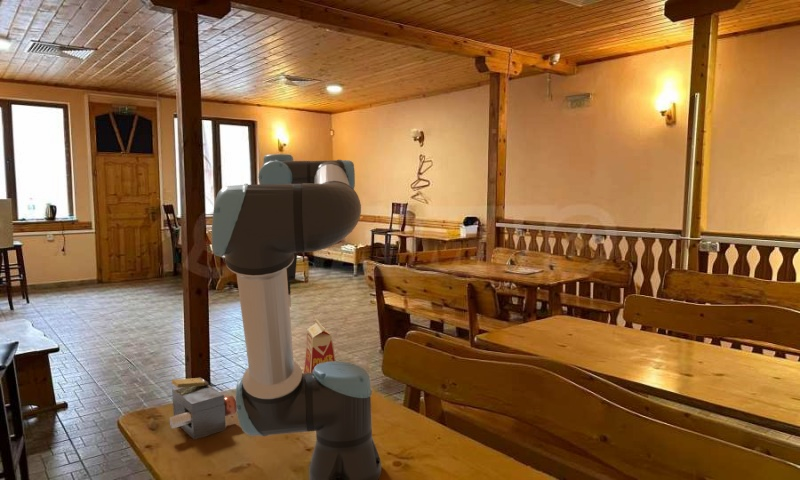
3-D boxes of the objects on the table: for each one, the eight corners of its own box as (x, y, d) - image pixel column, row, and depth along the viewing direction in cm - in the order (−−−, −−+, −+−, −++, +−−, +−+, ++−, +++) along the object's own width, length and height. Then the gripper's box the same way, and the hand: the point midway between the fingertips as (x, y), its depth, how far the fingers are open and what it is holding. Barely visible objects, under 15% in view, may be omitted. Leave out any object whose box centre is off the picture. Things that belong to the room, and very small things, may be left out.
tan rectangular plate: (208, 386, 144) (209, 382, 144) (178, 388, 138) (178, 384, 138) (201, 380, 147) (201, 377, 147) (171, 382, 142) (171, 379, 142)
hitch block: (226, 429, 138) (224, 395, 137) (194, 439, 133) (191, 404, 132) (204, 412, 149) (202, 380, 148) (174, 421, 144) (171, 388, 143)
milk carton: (302, 382, 169) (299, 319, 167) (330, 377, 173) (328, 315, 171) (310, 392, 161) (307, 326, 159) (340, 387, 165) (337, 322, 163)
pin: (237, 415, 141) (236, 398, 140) (175, 435, 131) (174, 416, 130) (229, 410, 144) (228, 393, 144) (168, 428, 134) (167, 410, 134)
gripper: (307, 215, 137) (310, 308, 140) (281, 214, 147) (285, 300, 150) (280, 217, 133) (284, 313, 135) (255, 215, 142) (260, 305, 145)
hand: (284, 306), depth 142 cm, fingers closed
